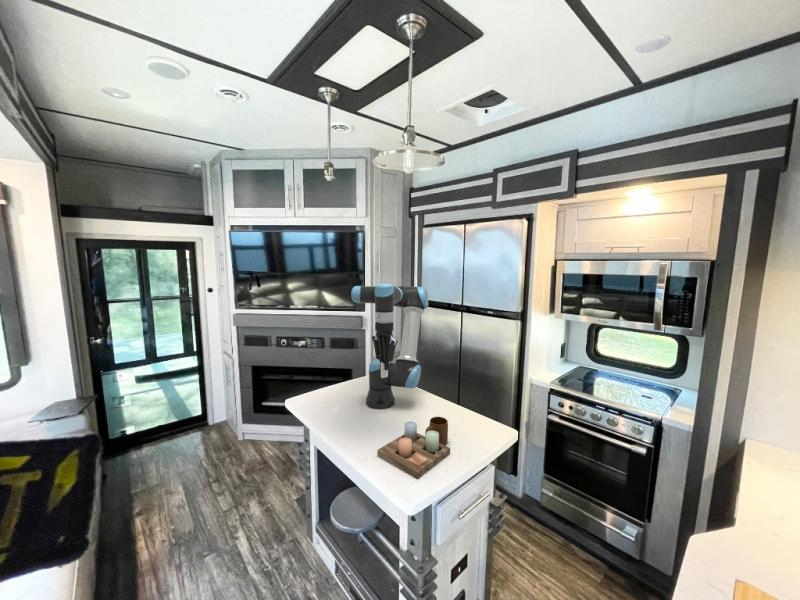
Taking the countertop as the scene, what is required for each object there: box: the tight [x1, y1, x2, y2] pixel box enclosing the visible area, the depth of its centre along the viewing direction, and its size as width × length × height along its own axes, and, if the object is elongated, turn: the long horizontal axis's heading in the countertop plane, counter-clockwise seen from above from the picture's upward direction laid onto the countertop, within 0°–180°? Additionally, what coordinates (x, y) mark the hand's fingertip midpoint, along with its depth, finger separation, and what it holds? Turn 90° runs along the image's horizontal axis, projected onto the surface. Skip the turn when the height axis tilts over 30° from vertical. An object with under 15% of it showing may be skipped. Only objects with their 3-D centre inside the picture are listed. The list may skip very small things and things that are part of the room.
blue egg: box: [403, 420, 418, 442], centre depth 134 cm, size 5×5×6 cm
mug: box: [424, 416, 449, 446], centre depth 134 cm, size 12×8×9 cm, turn 136°
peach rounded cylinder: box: [399, 438, 413, 459], centre depth 124 cm, size 5×5×6 cm
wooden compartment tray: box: [376, 432, 451, 480], centre depth 127 cm, size 20×20×3 cm
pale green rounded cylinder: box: [425, 430, 439, 453], centre depth 127 cm, size 5×5×6 cm
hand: (384, 376), depth 137 cm, fingers closed
